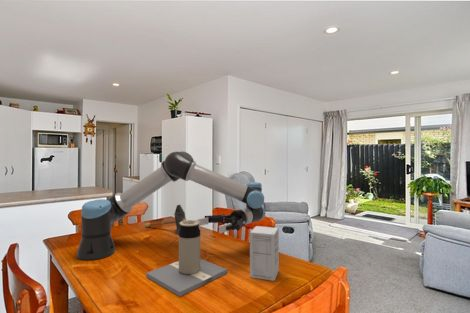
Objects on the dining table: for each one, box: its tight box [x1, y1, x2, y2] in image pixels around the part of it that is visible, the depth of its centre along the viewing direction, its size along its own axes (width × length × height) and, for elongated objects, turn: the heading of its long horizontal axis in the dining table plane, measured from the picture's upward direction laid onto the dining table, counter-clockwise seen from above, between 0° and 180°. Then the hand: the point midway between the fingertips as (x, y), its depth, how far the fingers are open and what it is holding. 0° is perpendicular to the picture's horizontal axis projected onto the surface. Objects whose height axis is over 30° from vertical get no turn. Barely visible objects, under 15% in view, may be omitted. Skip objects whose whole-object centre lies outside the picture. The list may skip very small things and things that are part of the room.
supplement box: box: [249, 225, 280, 282], centre depth 99 cm, size 10×9×17 cm
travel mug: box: [178, 219, 201, 274], centre depth 98 cm, size 8×8×18 cm
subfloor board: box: [145, 258, 228, 297], centre depth 98 cm, size 20×22×2 cm
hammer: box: [144, 204, 187, 235], centre depth 155 cm, size 6×16×30 cm
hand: (207, 226), depth 106 cm, fingers open, 13 cm apart
